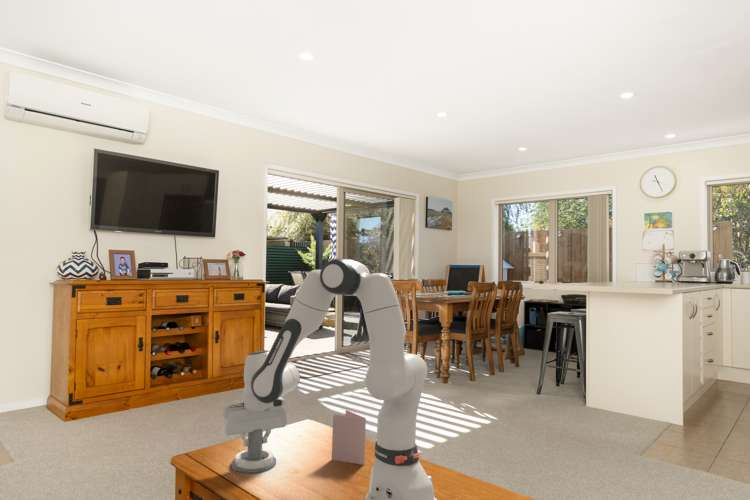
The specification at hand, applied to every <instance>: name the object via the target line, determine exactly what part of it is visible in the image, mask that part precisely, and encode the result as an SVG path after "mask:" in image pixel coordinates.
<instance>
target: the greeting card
mask: <svg viewBox="0 0 750 500" xmlns="http://www.w3.org/2000/svg"><path fill="white" fill-rule="evenodd" d="M366 419H367V418H366V417H364V416H361V415H359V414H357V413H354V412H352V411H350V410H348V409H345V415H341V414H334V413H333V415H332V438H331V439H332V441H331V443H332V444H331V460H332V461H338V462H343V463H350V464H357V465H362V466H363V465H364V466H365V454H366V451H365V450H366V445H365V444H366V422H367V420H366Z"/></svg>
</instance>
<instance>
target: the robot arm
mask: <svg viewBox="0 0 750 500" xmlns="http://www.w3.org/2000/svg"><path fill="white" fill-rule="evenodd" d="M336 296H347V297H350V296H351V297H352V296H356V297H357V298H358V300H359V301H360V304H361V308H362V311H363V313H362V314H363V316H364V321H365V325H366V330H367V334H368V341H369V365H368V370H367V372H366V374H365V379H364V380H365V381H364V383H365V388H366V390H367V392H368V393H369V394H370V395H371V396H372V397H373V399H376V400H380V401H383V402H382V405H381V407H380V409H379V411H378V414H377V424H376V425H377V429H376V430H377V431H376V442H375V444H374V445H375V446H374V457H375V460H374V463H373V465H372V467H371V471H370V478H369V487H368V492H367V493H366V495H365V499H364V500H438V498H436V497H435V490H434V485H433V479H432V476H431V475H428V474H427V472H426V471H425V469H424V467H423V466H422V464H421V462H420V457H421V452H419V450H418V445H417V442H416V435H417V434H416V433H417V431H416V430H417V416H418V415H417V414H418V410H419V404H420V400H421V396H422V391H423V386H424V383H425V381H426V379H427V376H428V373H429V372H428V370H429V369H428V366H427V364H426V361H425V360H424V358H422V357H421V356H420V355H418V354H415V353H409V352H408V353H406V352H405V339H406V338H405V337H406V335H407V327H406V324H405V320H404V316H403V312H402V308H401V305H400V300H399V298H398V295H397V292H396V290H395V287H394V284H393V281H392V280H391V278H390V277H389V276H388V275H387V274H385V273H380V272H374V273H373V270H372V269H371V268H370V267H369V266H368V265H367V264H366V263H364V262H361V261H357V260H355V259H349V258H341V257H340V258H338V257H337V258H333V259H330V260H328V261H327V262H326V263H324V265H322V268H321V269H313V270H310V271H309V272H308V274H307V275H306V276H305V278H304V280H303V281H302V283H301V285H300V286H299V289H298V291H297V293H296V295H295V298H294V301H293V303H292V305H291V308H290V309H289V312H288V314H287V316H286V319H285V320H284V323H283V325H282V327H281V329H280V330H279V331H278V334H277V336H276V337H275V339H274V342H273V344H272V346H271V348H270V350H269V349H267V350H265V349H263V350H257V351H252V352H251V353H249V354H248V355H247V356H246V357H245V362H244V369H243V381H244V382H243V383H244V387H243V390H242V392H243V393H242V402H237V403H230V404H228V405H227V406H225V407H224V409H223V418H224V419H223V420H224V421H223V426H222V430H223V432H224V434H225V435H226V436H233V435H235V436H236V435H239V436H240V438H241V440H242V446H243V447H244V448H245V447H248V446H249V440H248V438H246V436H247V434H248V432H253V430H259V429H262V430H263V431H265V433H264V435H263V437H262V445H263V444H264V445H265V444H267V443H268V438H269V436H270V435H271V433H272V430H273V429H280V428H285V427H286V426H287V424H288V412H287V411H288V410H287V408H286V407H285V405H286V400H285V398H284V397H283V396H284V395H286V394H288V393H290V392H291V391H294V390H295V389H296V388H297V387H298V386H299V383H300V380H301V375H300V371H299V369H298V367H297V366H296V365H295V364H293V363H292V362H289V361H290V359H291V357H292V355H293V353H294V351H295V349H296V348H297V346H298V345H299V344H300V342H301V341H303V340H304V339H306V337H308V336H310V335H311V334H313V333H314V332H316V331H317V330H318V329H319V328H320V327H321V325H322V324H323V322H324V321H325V318H326V317H327V314H328V311H329V309H330V307H331V304H332V301H333V300H334V298H335V297H336Z"/></svg>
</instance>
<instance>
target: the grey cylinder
mask: <svg viewBox="0 0 750 500" xmlns="http://www.w3.org/2000/svg"><path fill="white" fill-rule="evenodd" d="M263 431H264V430H262V429H259V430H253V432H248V433H247V439H248V440H249V446H247V449H246V450H247V461H258V460H261V459H262V449H263V444H262V437H264V435H263V434H264V433H263Z"/></svg>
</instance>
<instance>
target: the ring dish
mask: <svg viewBox="0 0 750 500" xmlns="http://www.w3.org/2000/svg"><path fill="white" fill-rule="evenodd" d="M247 450H248V449H245V450H241V451H239V452H238V453H236V455H235V458H234V459H233V460H232V461H231V469H232V470H233V471H236V472H238V473H241V474H258V473H263V472H268V471H270V470H272V469H273V468H275V467H276V465H277V459H276V457H275V456H274V453H273V452H272V451H271V450H269V449H264V448H262V459H261V460H258V461H247Z"/></svg>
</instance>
